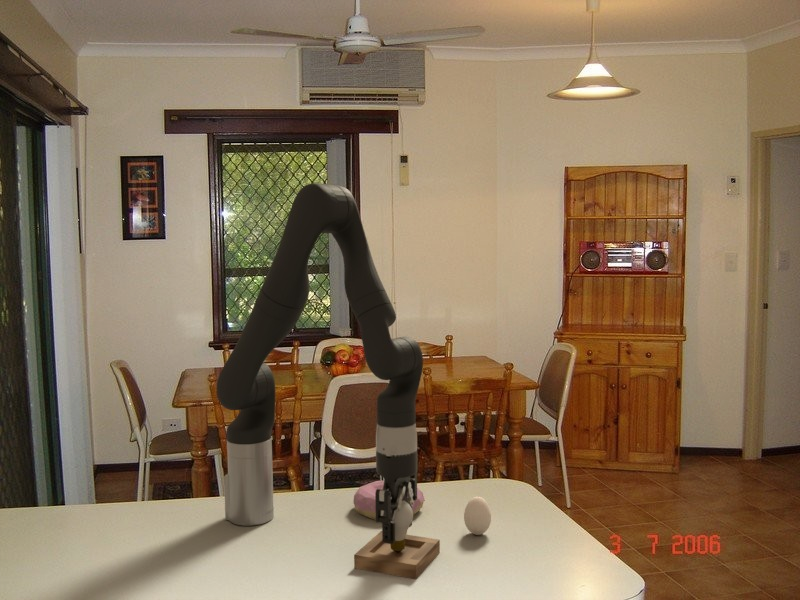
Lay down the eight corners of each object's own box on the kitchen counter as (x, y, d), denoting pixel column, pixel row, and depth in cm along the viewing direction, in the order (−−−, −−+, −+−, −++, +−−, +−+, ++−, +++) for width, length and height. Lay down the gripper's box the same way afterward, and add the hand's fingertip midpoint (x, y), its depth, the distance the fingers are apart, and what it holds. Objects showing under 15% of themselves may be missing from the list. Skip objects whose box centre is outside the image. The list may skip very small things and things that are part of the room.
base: (354, 568, 145) (354, 554, 144) (381, 543, 156) (381, 530, 155) (416, 578, 140) (416, 565, 140) (439, 552, 151) (439, 539, 151)
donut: (430, 501, 179) (430, 479, 179) (415, 526, 164) (415, 503, 164) (363, 496, 183) (363, 475, 182) (343, 521, 168) (343, 497, 167)
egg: (484, 527, 163) (484, 491, 162) (495, 537, 158) (495, 499, 157) (459, 531, 161) (459, 494, 160) (470, 541, 156) (470, 502, 155)
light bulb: (410, 559, 144) (409, 505, 143) (378, 557, 145) (377, 504, 144) (416, 546, 150) (415, 494, 149) (385, 544, 151) (384, 493, 150)
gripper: (393, 435, 154) (394, 518, 155) (360, 456, 141) (362, 546, 142) (429, 439, 151) (430, 523, 152) (400, 460, 138) (401, 552, 139)
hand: (397, 534), depth 147 cm, fingers open, 7 cm apart
